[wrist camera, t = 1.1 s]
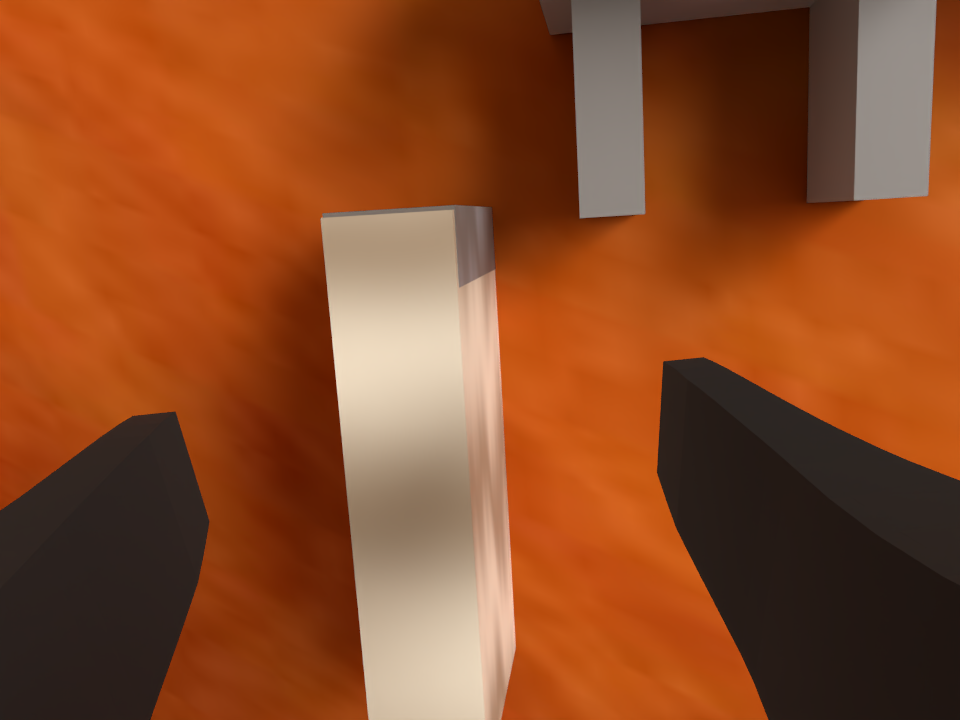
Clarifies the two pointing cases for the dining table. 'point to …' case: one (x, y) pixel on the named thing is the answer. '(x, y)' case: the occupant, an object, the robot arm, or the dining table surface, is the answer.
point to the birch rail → (424, 456)
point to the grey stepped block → (831, 94)
